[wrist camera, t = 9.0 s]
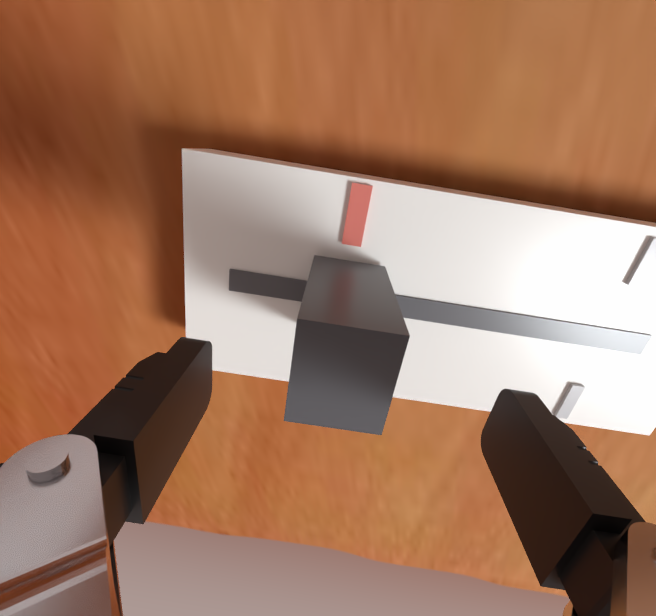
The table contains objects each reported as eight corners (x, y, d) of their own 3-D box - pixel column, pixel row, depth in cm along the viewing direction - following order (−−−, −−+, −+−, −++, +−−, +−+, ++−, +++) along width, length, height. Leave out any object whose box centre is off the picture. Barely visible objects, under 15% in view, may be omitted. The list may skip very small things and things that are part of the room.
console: (711, 232, 17) (789, 249, 14) (608, 397, 21) (652, 438, 18) (209, 148, 16) (179, 148, 13) (207, 336, 20) (184, 368, 17)
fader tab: (385, 266, 15) (409, 335, 9) (368, 338, 16) (381, 435, 11) (314, 255, 15) (297, 318, 9) (304, 328, 16) (284, 421, 11)
